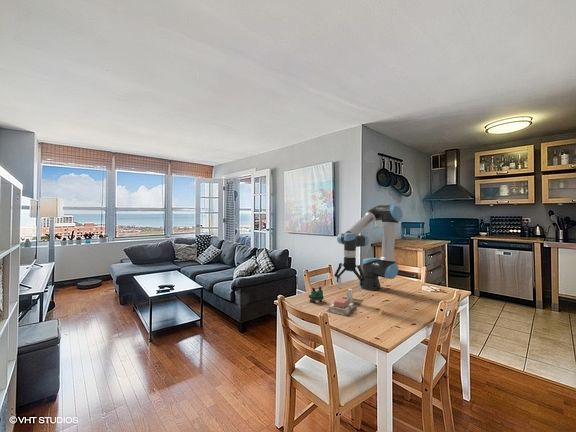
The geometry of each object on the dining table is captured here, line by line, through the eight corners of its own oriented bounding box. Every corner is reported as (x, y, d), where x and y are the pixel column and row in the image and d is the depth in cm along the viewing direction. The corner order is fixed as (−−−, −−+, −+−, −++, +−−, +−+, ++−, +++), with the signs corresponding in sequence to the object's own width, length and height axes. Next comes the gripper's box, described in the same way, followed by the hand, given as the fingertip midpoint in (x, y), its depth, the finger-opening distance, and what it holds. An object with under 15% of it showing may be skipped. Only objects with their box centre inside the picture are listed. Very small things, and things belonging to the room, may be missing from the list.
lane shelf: (343, 298, 178) (343, 292, 178) (363, 301, 171) (363, 295, 171) (326, 312, 153) (326, 306, 153) (349, 318, 145) (349, 311, 145)
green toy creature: (318, 284, 177) (324, 287, 167) (319, 300, 176) (325, 304, 166) (306, 285, 174) (311, 288, 165) (306, 301, 174) (312, 305, 164)
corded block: (346, 300, 171) (346, 288, 171) (355, 301, 168) (355, 289, 168) (334, 311, 153) (334, 297, 153) (343, 313, 150) (343, 299, 149)
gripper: (329, 255, 171) (329, 287, 171) (367, 259, 158) (367, 294, 158) (333, 254, 177) (333, 284, 177) (370, 257, 164) (370, 291, 164)
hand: (349, 289), depth 168 cm, fingers open, 13 cm apart
